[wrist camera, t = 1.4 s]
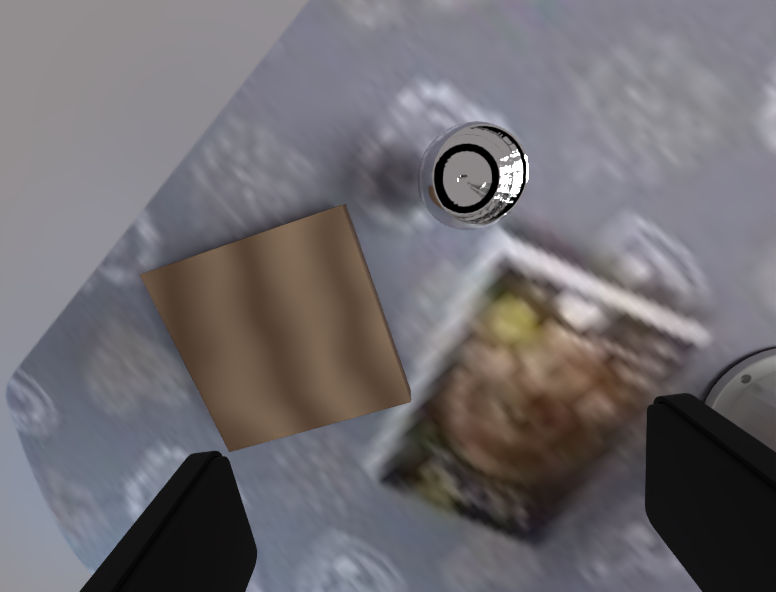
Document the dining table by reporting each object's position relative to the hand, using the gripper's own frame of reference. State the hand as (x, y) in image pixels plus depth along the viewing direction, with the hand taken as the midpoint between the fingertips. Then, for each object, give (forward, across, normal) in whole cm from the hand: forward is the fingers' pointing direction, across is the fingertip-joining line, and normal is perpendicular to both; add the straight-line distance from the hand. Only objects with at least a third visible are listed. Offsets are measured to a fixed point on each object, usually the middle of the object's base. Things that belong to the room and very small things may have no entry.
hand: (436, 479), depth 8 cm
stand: (+24, +10, +3) cm, 27 cm away
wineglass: (+24, -4, -6) cm, 25 cm away
